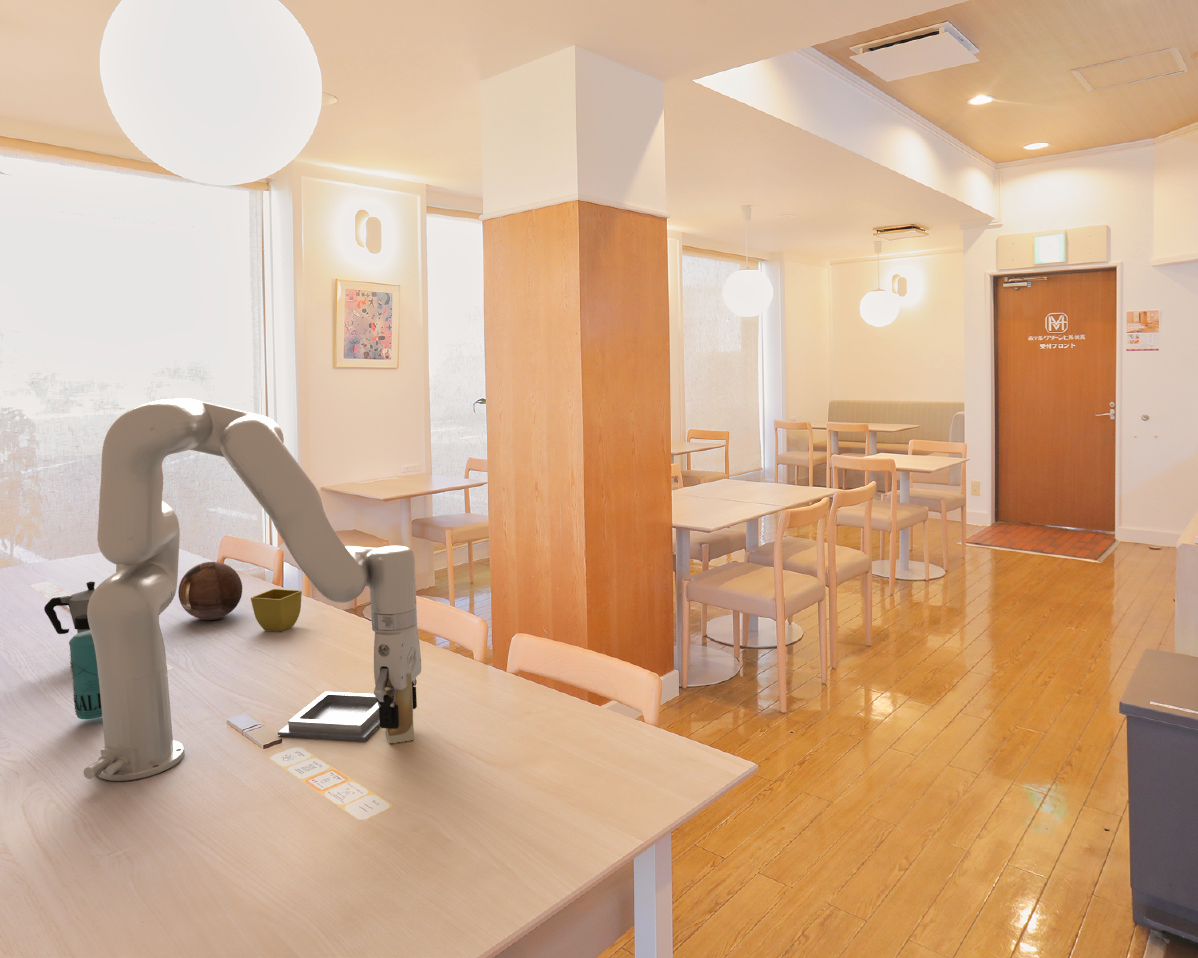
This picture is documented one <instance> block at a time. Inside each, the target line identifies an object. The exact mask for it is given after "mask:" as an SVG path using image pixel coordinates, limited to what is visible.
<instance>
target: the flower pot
mask: <svg viewBox="0 0 1198 958" xmlns="http://www.w3.org/2000/svg"><path fill="white" fill-rule="evenodd" d="M302 593H303V592H302V590H297V589H282V588H272V589H269V590H267V591H265V592H264V591H263V592H261V593H259V594H257V595H253V596H251V597H250V601H251V607H252V610H253V615H254V617H255V620H256V622H257V624H259V626H260V627H261V628H262V629H263V630H264V631H266V632H270V631H271V632H279V633H280V632H283V631H286V630H287V629H289V628H293V627H294V626H295V624H296V623H297V620H298V619H299V616H300V613H301V609H302V608H301V607H302Z"/></svg>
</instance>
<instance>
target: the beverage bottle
mask: <svg viewBox="0 0 1198 958" xmlns="http://www.w3.org/2000/svg"><path fill="white" fill-rule="evenodd" d="M73 626H74V629H75V630H85V629H90V627H89V623H88V616H87V614H82V615H79V616H76V617H75V625H74V624H73ZM68 644H69V651H70V652H69V653H70V654H69V657H70V661H69V666H70V672H71V680H72V682H71V684H72V692H73V704H74V713H75V715H76V717H77V718H78V719H81V720H94V719H99V718H102V709H101V698H100V687H99V677H98V669H97V659H96V652H95V646H94V642H93V638H92V634H91V631H90V630H89V631H84V632H80V633H76V634H75V635H73V637H72V638H71V639H70V640H69V642H68Z"/></svg>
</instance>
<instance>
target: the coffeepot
mask: <svg viewBox="0 0 1198 958" xmlns="http://www.w3.org/2000/svg"><path fill="white" fill-rule="evenodd" d="M95 584H96V582H95V581H88V582H86V583H85V585H86V587H87V590H83V591H80V592H77V593H73V594H71V595H64V596H57V597H51V599H49V601H48V602H46V604H45V605H44V607H43V608H44V609H43V611H44V613H45V614H46V616H47V618H48V619H49V621H50V623H51V625H52V626H53V628H54V630H55V632H56V633H57V634H58V635H67V634H68V633H69V632H70V628H63V627H62V623H61V621H60V619H59V618H58V615H57V612H56V610H55V609H54V608H55V607H60V606H61V607H64V606H68V609H69V613H70V616H71V621H72V623H73V626H74V625H75V617H76V616H79V615H82V614H87V609H88V603H89V600H90V597H91V595H92V594H93V592H94V590H95V589H96V588H95V586H96V585H95ZM76 630H77V629H76ZM89 630H90V629H85V630H77V633H76V634H78V633H80V632H84V631H89Z"/></svg>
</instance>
